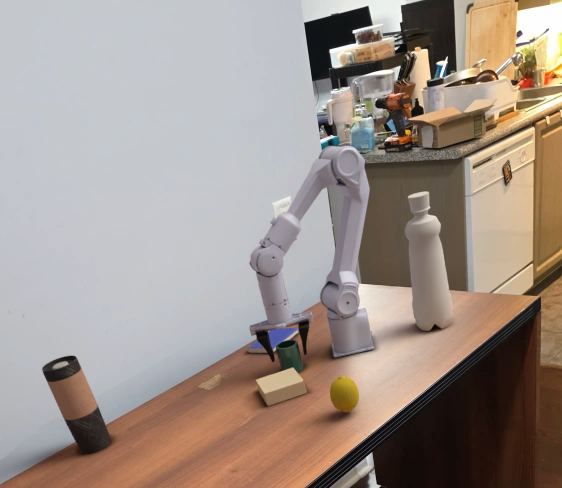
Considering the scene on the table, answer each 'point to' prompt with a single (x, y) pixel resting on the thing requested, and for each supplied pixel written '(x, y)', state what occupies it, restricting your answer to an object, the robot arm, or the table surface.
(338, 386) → the lemon
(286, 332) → the blue book
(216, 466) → the table surface
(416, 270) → the bottle
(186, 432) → the table surface
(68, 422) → the travel mug
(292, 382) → the block
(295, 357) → the cup
